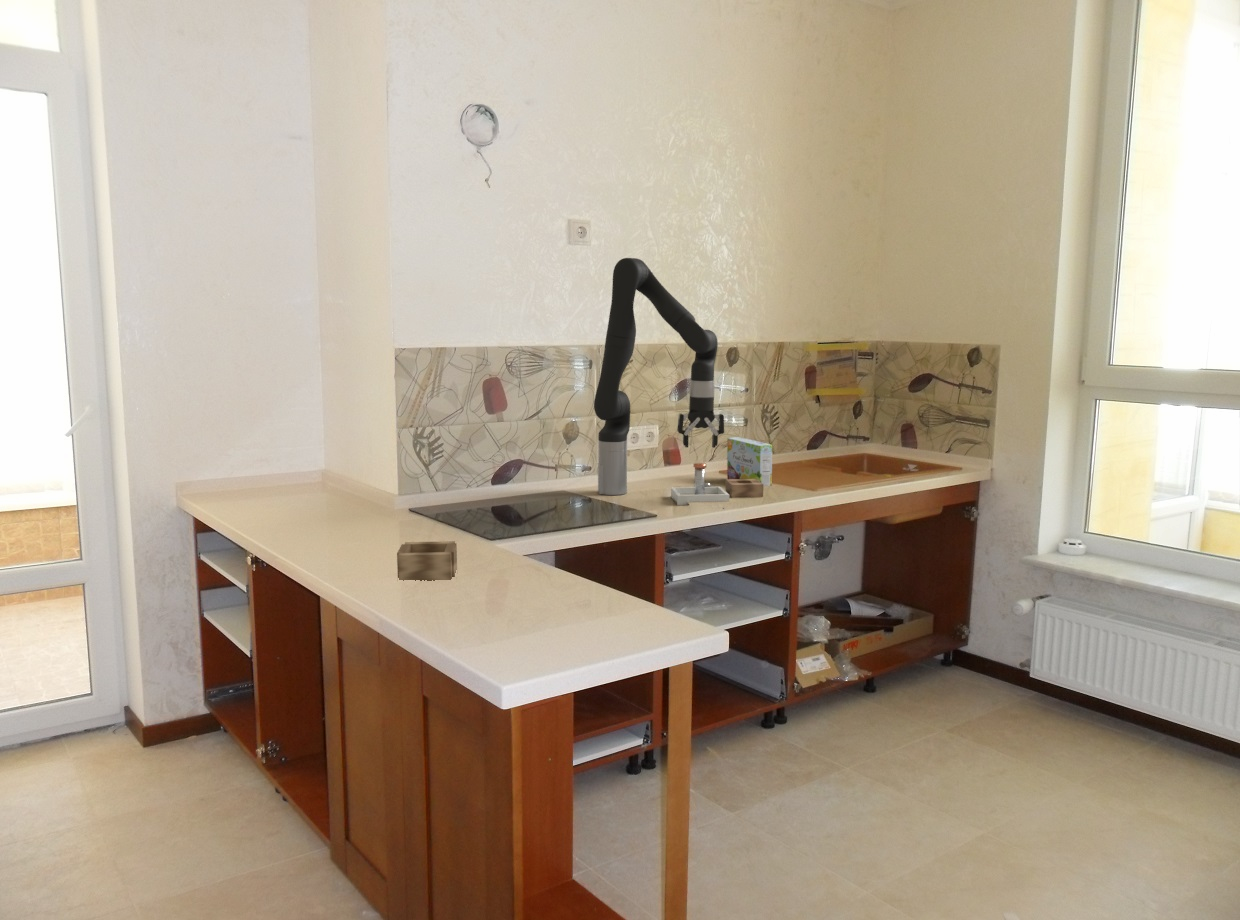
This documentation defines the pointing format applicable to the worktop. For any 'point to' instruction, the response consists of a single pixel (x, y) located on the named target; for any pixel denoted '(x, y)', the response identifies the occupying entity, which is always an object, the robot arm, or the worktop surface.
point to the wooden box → (744, 488)
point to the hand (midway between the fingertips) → (700, 447)
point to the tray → (713, 495)
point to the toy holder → (427, 560)
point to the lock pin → (699, 478)
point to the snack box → (749, 460)
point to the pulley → (709, 485)
